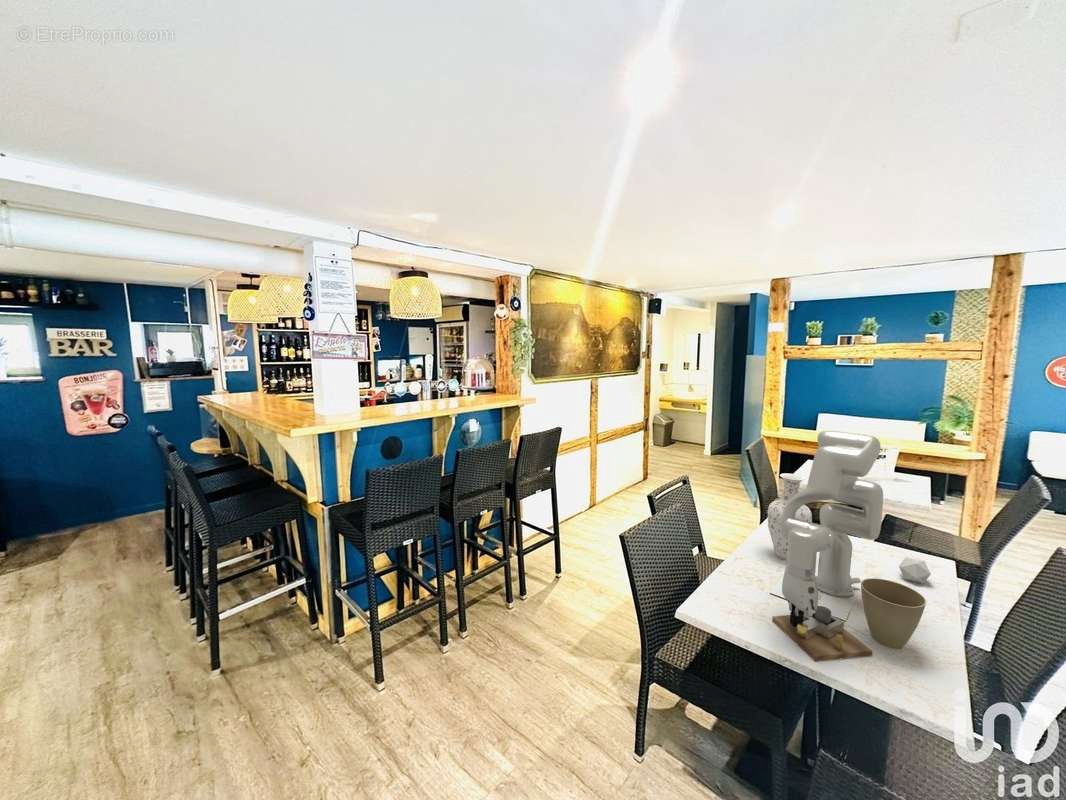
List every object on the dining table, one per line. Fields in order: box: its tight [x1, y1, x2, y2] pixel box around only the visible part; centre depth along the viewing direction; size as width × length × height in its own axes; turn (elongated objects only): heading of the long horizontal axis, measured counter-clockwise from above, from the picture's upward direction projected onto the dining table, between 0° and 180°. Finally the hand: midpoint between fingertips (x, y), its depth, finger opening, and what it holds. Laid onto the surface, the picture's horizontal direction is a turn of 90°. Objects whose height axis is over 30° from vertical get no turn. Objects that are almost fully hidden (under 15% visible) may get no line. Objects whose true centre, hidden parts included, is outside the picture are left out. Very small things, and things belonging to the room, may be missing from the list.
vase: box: [767, 472, 813, 561], centre depth 178 cm, size 16×16×35 cm
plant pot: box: [860, 577, 927, 650], centre depth 127 cm, size 15×15×16 cm
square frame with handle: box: [797, 610, 845, 640], centre depth 130 cm, size 15×8×4 cm, turn 116°
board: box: [771, 605, 874, 662], centre depth 129 cm, size 18×18×8 cm
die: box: [898, 556, 931, 584], centre depth 161 cm, size 8×9×10 cm
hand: (796, 624), depth 131 cm, fingers closed
